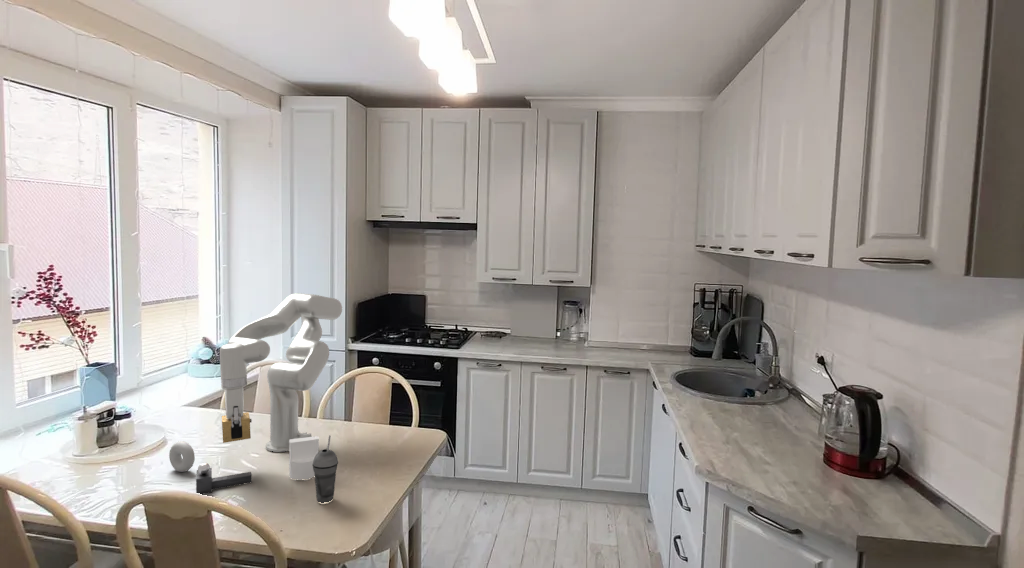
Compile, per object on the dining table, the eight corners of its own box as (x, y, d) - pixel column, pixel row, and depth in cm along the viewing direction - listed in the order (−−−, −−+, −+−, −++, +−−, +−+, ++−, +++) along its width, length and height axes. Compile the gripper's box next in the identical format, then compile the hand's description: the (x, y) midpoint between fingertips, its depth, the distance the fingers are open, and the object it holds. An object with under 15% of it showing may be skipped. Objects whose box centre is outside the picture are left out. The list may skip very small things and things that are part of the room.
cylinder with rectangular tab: (290, 482, 169) (290, 446, 168) (288, 471, 177) (288, 436, 176) (320, 477, 173) (320, 442, 172) (316, 467, 181) (316, 432, 180)
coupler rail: (250, 476, 172) (250, 452, 171) (252, 485, 166) (251, 460, 165) (196, 485, 165) (196, 460, 164) (196, 495, 158) (195, 468, 158)
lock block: (251, 431, 180) (250, 411, 179) (252, 438, 175) (251, 417, 174) (222, 436, 176) (221, 415, 175) (223, 443, 171) (222, 422, 170)
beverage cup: (316, 495, 161) (316, 431, 160) (340, 494, 162) (341, 431, 160) (309, 507, 154) (309, 440, 152) (334, 506, 155) (335, 440, 153)
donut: (197, 472, 174) (197, 442, 173) (187, 476, 170) (186, 446, 170) (177, 466, 178) (176, 437, 177) (166, 470, 174) (166, 440, 174)
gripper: (220, 375, 179) (223, 427, 181) (221, 390, 164) (224, 446, 166) (245, 373, 182) (247, 423, 185) (248, 387, 167) (250, 442, 170)
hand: (236, 433), depth 175 cm, fingers closed on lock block, 6 cm apart
